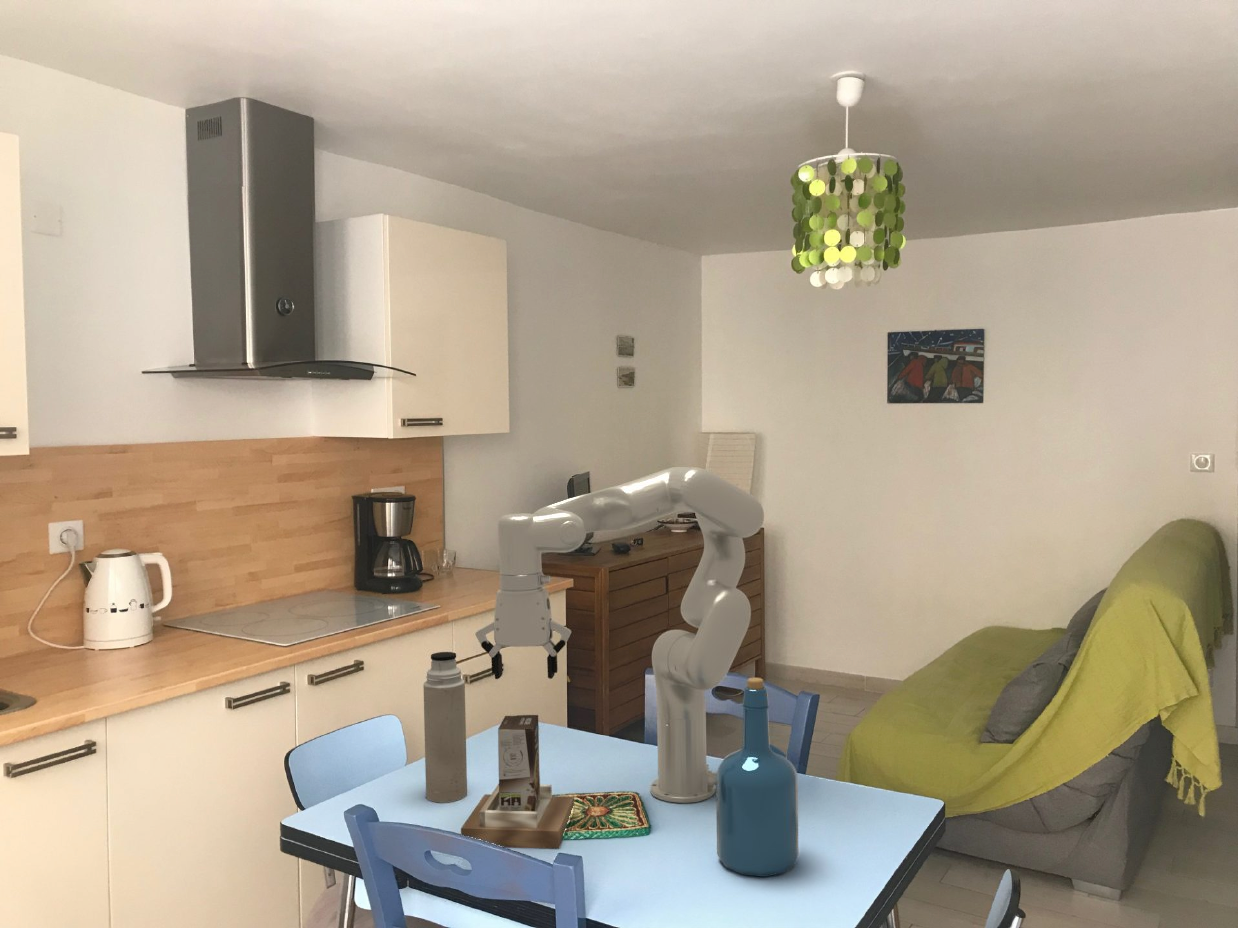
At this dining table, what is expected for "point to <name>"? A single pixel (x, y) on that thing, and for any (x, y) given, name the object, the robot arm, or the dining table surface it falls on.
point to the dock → (520, 822)
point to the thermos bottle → (445, 730)
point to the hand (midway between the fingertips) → (525, 676)
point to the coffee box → (519, 763)
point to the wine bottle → (757, 797)
